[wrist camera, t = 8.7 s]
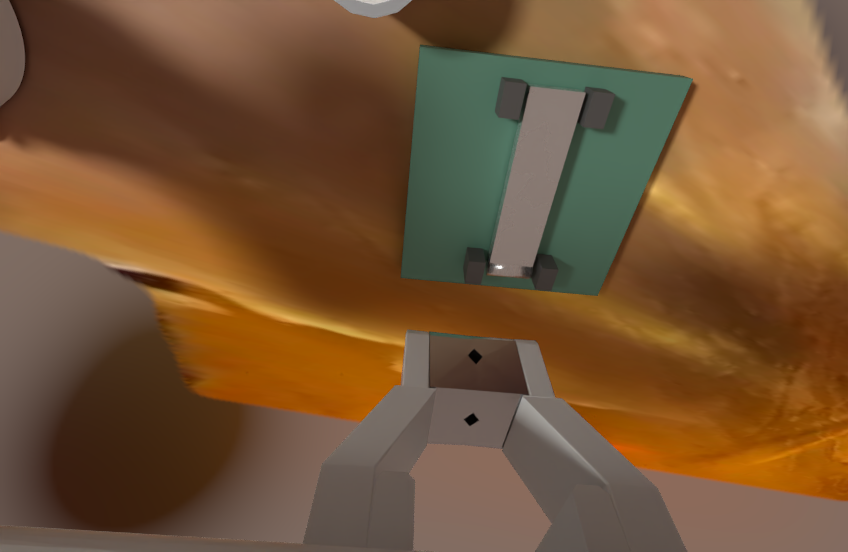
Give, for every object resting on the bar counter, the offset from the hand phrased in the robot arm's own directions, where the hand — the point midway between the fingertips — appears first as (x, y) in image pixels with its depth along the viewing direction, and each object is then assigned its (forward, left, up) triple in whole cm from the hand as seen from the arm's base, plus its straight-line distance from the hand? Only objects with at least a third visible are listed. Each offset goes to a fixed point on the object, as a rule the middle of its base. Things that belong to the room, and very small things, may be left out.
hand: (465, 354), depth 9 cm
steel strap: (+8, -6, -26) cm, 27 cm away
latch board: (+8, -6, -27) cm, 29 cm away
